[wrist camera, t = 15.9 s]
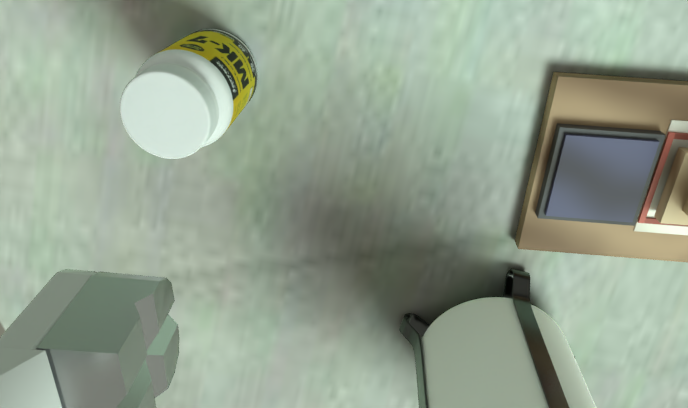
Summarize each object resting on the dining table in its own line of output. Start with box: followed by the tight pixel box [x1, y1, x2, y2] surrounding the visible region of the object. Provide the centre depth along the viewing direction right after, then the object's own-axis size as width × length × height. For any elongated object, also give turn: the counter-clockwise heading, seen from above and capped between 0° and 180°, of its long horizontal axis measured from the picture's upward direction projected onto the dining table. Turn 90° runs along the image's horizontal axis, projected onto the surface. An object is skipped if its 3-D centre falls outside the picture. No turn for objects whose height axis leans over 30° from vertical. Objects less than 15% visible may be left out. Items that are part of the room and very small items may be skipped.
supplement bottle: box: [120, 29, 258, 159], centre depth 33 cm, size 6×6×10 cm
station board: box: [515, 72, 688, 262], centre depth 38 cm, size 13×15×2 cm
